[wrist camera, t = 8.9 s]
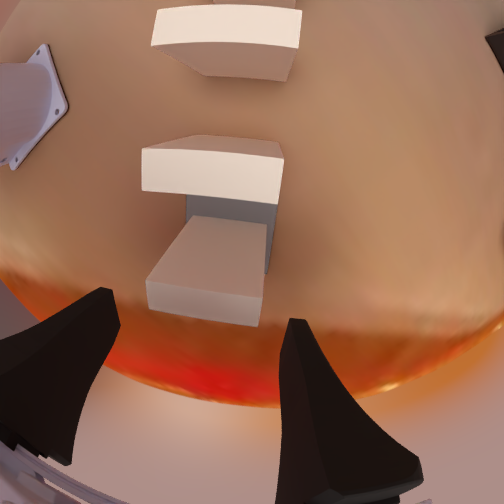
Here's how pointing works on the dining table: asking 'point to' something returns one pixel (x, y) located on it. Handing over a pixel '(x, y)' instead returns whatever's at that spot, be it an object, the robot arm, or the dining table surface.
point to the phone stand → (497, 45)
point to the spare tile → (212, 272)
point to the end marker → (235, 213)
